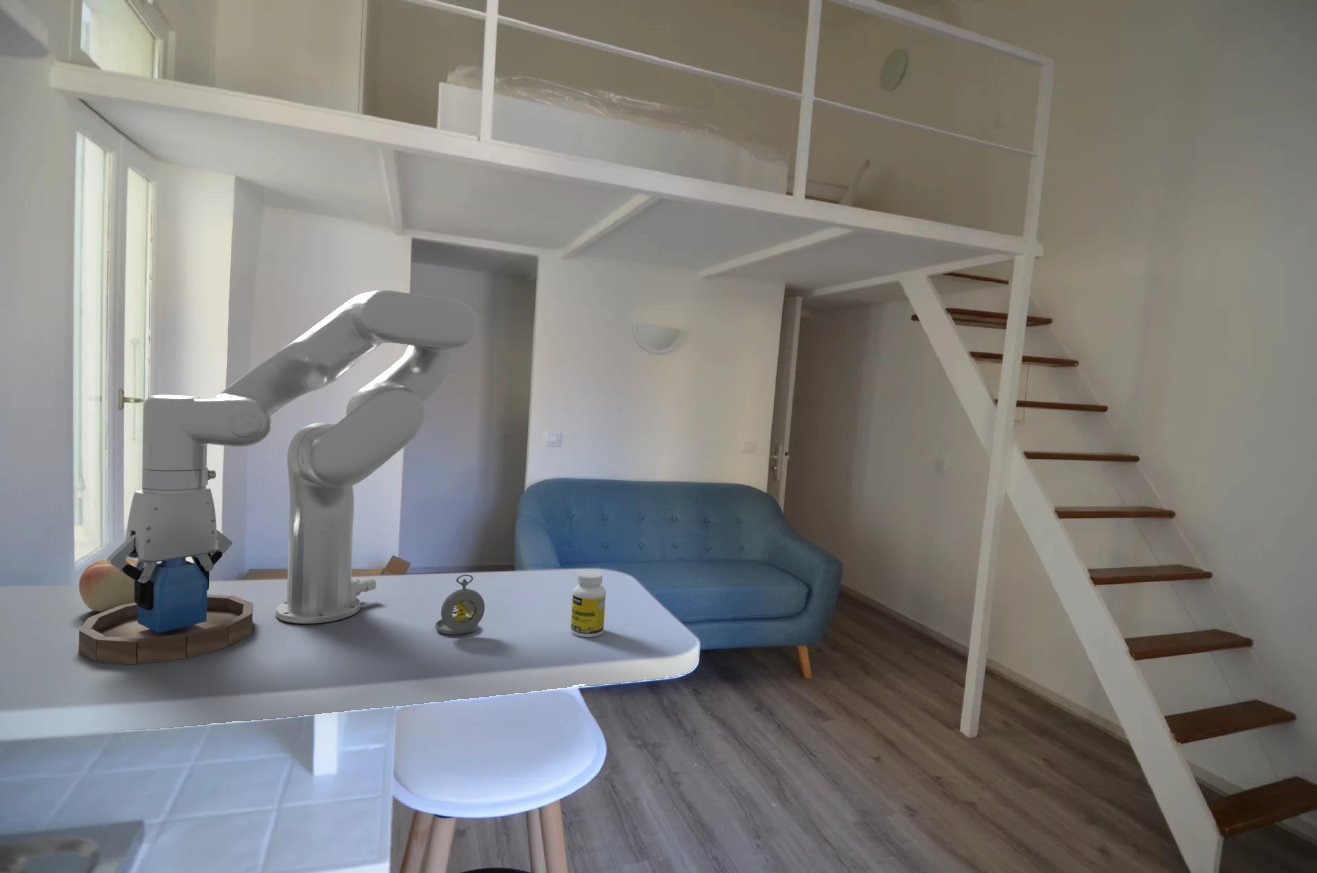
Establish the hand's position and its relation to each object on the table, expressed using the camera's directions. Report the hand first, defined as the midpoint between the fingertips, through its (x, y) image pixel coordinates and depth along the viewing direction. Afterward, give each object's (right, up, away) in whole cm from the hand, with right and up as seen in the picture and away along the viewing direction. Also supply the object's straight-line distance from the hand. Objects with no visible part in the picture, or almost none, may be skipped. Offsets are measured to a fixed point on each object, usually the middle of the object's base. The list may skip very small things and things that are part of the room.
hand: (172, 600), depth 97 cm
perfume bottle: (0, -3, 0) cm, 3 cm away
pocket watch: (+39, -7, +9) cm, 41 cm away
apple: (-16, -4, +9) cm, 19 cm away
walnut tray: (0, -5, 0) cm, 5 cm away
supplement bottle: (+59, -8, +12) cm, 61 cm away
